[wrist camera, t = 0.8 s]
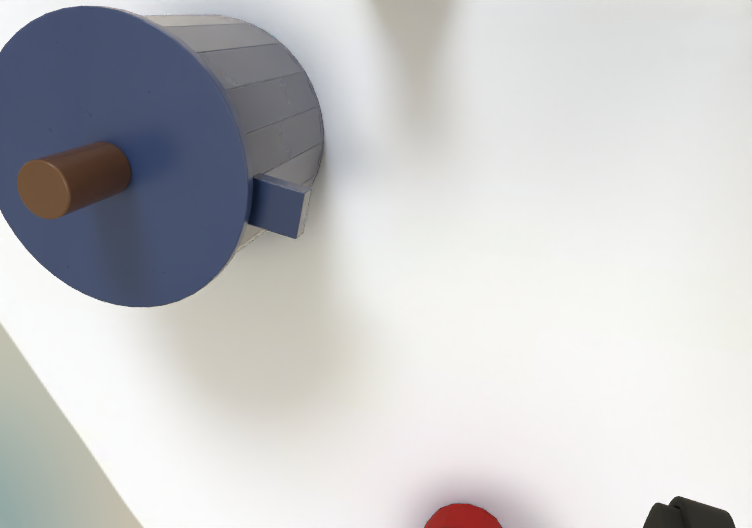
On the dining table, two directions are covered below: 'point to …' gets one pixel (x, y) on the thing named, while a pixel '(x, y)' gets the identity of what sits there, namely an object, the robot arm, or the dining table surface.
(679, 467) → the dining table surface
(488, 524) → the plastic cup
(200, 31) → the pot
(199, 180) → the pot lid
